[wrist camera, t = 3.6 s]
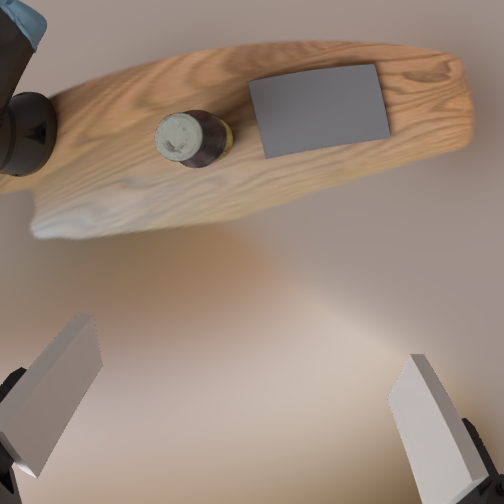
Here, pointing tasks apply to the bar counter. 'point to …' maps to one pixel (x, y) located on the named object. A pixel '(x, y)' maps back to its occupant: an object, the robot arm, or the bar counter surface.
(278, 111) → the gray rectangular mat
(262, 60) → the bar counter surface
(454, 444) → the robot arm
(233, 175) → the bar counter surface
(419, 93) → the bar counter surface
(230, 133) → the sauce bottle
